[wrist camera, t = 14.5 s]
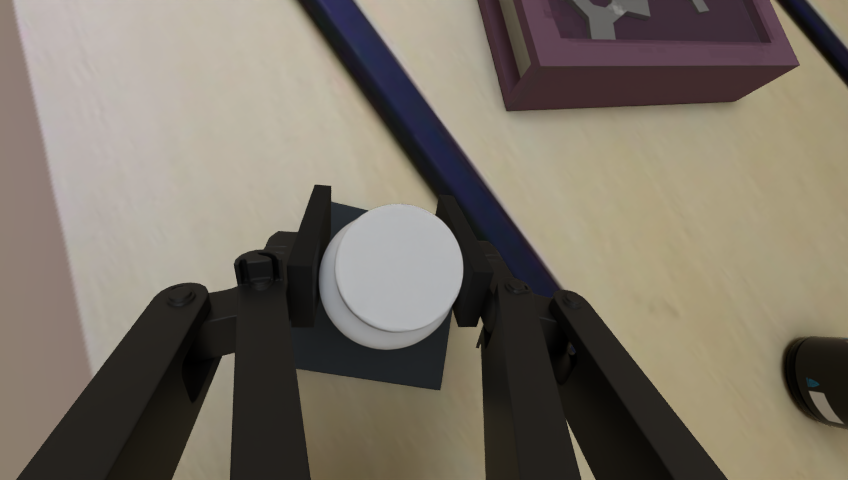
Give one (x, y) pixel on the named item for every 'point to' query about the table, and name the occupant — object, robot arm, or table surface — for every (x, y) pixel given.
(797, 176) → the table surface
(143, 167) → the table surface
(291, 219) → the table surface
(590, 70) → the book
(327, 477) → the table surface
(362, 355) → the mat
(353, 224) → the supplement bottle
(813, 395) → the supplement container
